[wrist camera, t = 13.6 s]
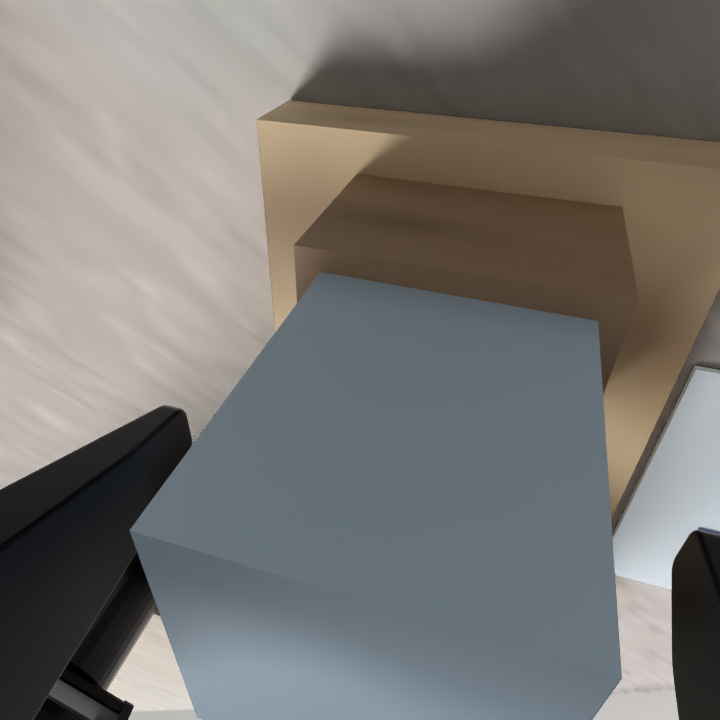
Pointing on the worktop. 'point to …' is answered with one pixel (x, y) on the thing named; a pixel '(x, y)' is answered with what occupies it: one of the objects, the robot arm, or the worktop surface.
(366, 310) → the pale blue block
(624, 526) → the blueprint sheet
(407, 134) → the base slab
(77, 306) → the worktop surface
